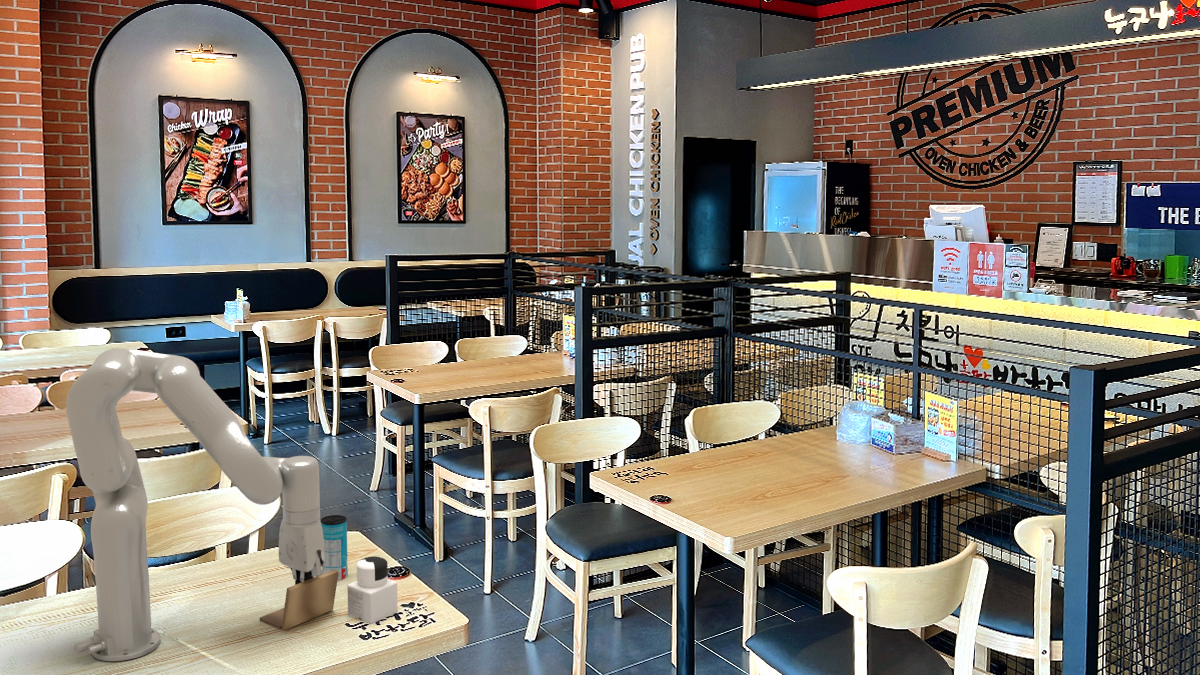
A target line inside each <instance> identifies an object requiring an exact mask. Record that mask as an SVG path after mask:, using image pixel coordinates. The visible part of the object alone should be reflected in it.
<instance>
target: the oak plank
mask: <svg viewBox="0 0 1200 675" xmlns="http://www.w3.org/2000/svg"><path fill="white" fill-rule="evenodd" d="M338 573H339V571H337V570H336V569H335V570H332V571H330V572H327V573H324V574H322V575H319V576H317V577H315V576H314V578H312V579H309V580H306V581H304V582H301V583H299V584H296V585H295V584H294V585H291V586H288V587H287V588H286V593H285V600H284V607H283V608H284V615H283V622H282V628H283V630H284V631H286V630H289V629H292V628H293V627H296V626H298V625H300V624H303V623H305V622H307V621H310V620H312V619H314V618H317V617H319V616H322V615H323V614H326V613H328V612H331V611H333V610H334V607H335V606H334V605H335V598H336V592H337V587H338V586H337V585H338V581H337V580H338Z"/></svg>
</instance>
